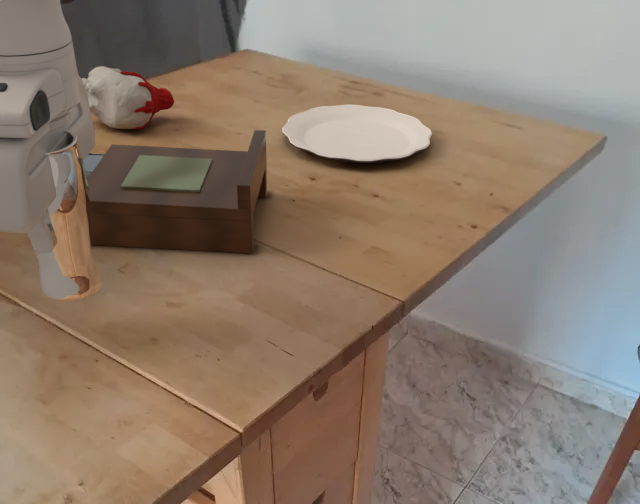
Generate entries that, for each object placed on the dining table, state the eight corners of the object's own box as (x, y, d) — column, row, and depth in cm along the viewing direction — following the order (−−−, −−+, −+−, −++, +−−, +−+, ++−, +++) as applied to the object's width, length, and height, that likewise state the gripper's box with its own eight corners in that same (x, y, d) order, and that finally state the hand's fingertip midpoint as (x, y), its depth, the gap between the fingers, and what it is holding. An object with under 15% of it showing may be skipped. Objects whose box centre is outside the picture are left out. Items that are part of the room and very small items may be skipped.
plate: (308, 178, 105) (309, 166, 104) (266, 121, 122) (266, 110, 121) (455, 163, 111) (457, 151, 110) (395, 110, 129) (396, 100, 127)
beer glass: (119, 278, 73) (95, 135, 62) (76, 311, 68) (42, 160, 58) (67, 262, 75) (35, 119, 64) (21, 292, 70) (-21, 143, 60)
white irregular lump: (75, 119, 118) (156, 116, 126) (99, 140, 112) (184, 135, 119) (70, 61, 113) (156, 62, 120) (95, 80, 106) (184, 79, 114)
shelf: (82, 244, 88) (66, 176, 82) (118, 185, 101) (107, 122, 95) (252, 253, 88) (250, 185, 82) (267, 193, 101) (265, 130, 95)
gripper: (31, 42, 65) (61, 183, 75) (-70, 119, 50) (-16, 283, 60) (97, 46, 65) (119, 187, 75) (16, 125, 50) (56, 288, 60)
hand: (59, 230), depth 67 cm, fingers closed on beer glass, 6 cm apart
